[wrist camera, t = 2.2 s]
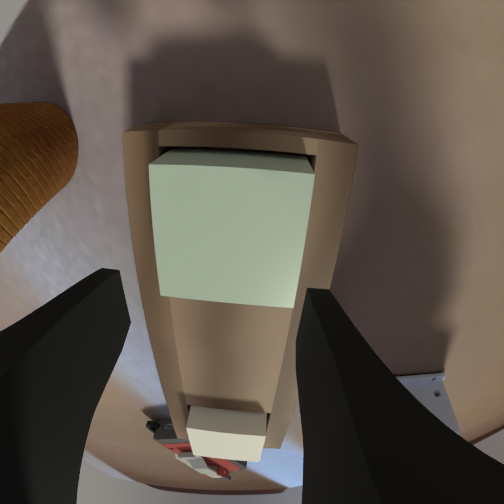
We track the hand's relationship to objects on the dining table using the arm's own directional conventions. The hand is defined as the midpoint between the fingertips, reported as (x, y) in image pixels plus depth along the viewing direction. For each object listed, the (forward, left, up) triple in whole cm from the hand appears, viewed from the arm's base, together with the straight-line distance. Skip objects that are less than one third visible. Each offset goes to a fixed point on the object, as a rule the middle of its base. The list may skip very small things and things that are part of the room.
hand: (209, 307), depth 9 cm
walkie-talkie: (+3, +34, -10) cm, 35 cm away
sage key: (0, 0, -7) cm, 7 cm away
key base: (0, +10, -9) cm, 13 cm away
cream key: (0, +19, -7) cm, 20 cm away
